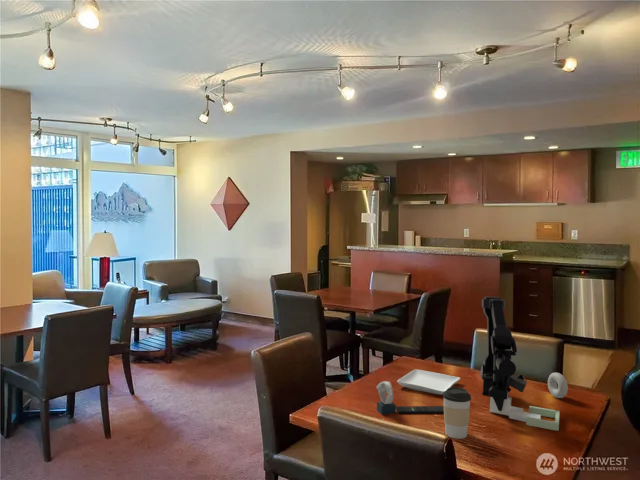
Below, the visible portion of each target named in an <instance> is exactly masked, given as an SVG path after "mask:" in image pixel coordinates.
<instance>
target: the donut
mask: <svg viewBox="0 0 640 480" xmlns="http://www.w3.org/2000/svg"><path fill="white" fill-rule="evenodd" d="M547 387H548V391H549V392H550V394H551V396H553V398H557V399H563V398H564V397H566V396H567V393H568V390H569V388H568V381H567V380H566V378H565V377H564V375H563V374H561V373H560V372H551V373H550V374H549V376H548V379H547Z"/></svg>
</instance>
